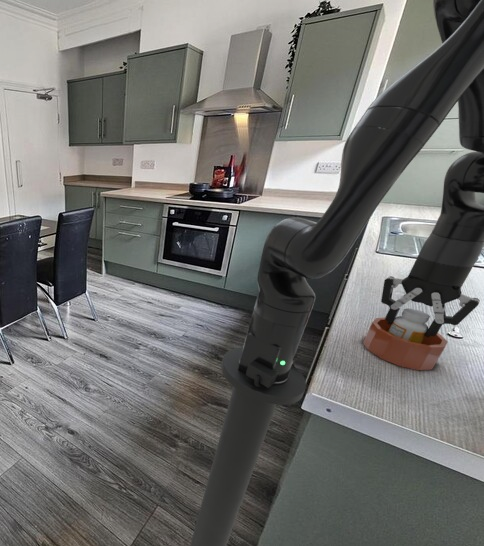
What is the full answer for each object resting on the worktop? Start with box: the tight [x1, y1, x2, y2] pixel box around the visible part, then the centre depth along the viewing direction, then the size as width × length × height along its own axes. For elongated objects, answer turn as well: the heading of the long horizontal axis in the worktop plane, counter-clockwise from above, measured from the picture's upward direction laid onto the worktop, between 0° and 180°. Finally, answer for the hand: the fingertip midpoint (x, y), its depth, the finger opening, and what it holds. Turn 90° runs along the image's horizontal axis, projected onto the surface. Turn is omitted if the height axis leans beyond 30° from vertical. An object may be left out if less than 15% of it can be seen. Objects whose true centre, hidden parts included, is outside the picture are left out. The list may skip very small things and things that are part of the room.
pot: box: [362, 317, 449, 371], centre depth 70 cm, size 12×12×6 cm
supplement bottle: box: [388, 308, 431, 344], centre depth 69 cm, size 5×5×10 cm
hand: (408, 329), depth 69 cm, fingers closed on supplement bottle, 5 cm apart
